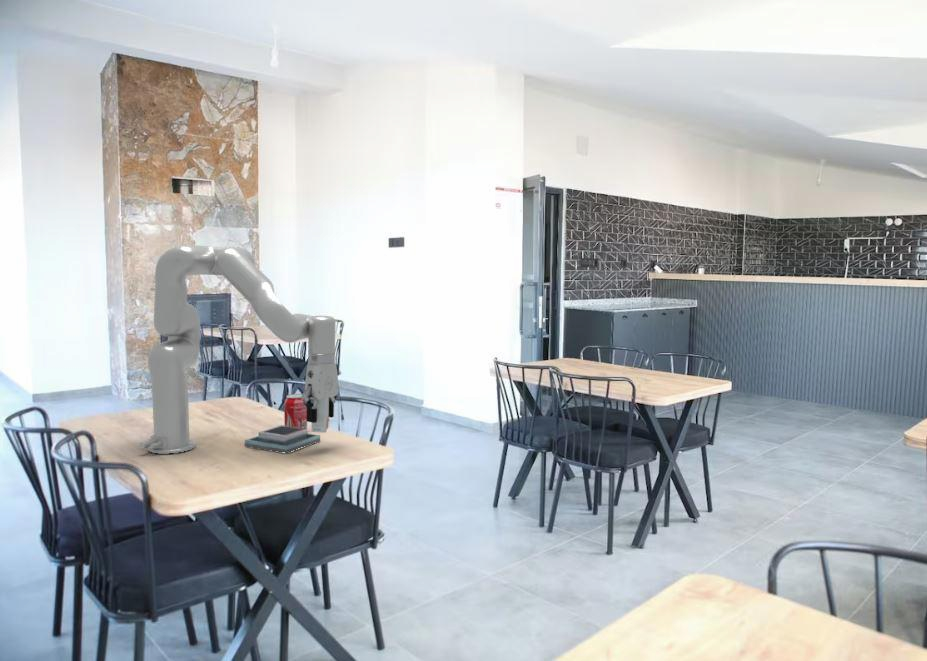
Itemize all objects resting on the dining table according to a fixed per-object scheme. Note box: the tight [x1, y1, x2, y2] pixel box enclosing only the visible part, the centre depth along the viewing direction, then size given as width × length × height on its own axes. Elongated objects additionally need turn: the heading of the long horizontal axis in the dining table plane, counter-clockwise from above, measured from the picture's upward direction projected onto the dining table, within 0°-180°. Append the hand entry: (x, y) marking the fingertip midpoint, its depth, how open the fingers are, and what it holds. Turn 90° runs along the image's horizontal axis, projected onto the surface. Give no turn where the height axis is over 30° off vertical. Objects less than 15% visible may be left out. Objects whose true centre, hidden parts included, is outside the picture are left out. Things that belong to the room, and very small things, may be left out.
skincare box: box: [311, 391, 330, 433], centre depth 195 cm, size 6×4×12 cm
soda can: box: [283, 393, 308, 430], centre depth 216 cm, size 7×7×12 cm
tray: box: [244, 424, 321, 454], centre depth 202 cm, size 15×16×4 cm
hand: (320, 418), depth 195 cm, fingers closed on skincare box, 7 cm apart
